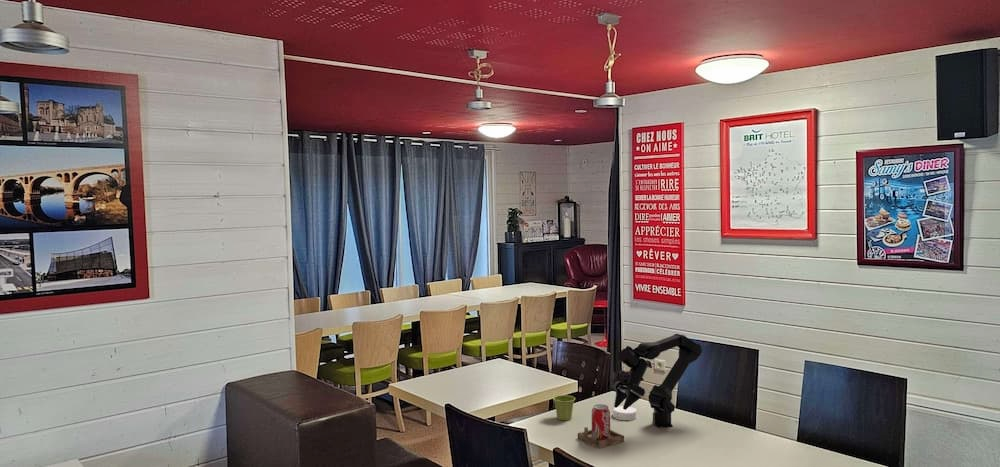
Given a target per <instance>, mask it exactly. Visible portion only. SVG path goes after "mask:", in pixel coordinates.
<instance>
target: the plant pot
mask: <svg viewBox="0 0 1000 467" xmlns="http://www.w3.org/2000/svg"><path fill="white" fill-rule="evenodd" d="M552 400H553V401H554V402H553V403H554V406H555V411H556V418H557V420H559V421H561V420H563V421H570V420H571V419H573V418H572V417H573V409H574V408H573V407H574V403H575V400H576V397H574V396H573V395H566V394H564V395H563V394H561V395H560V394H559V395H556V396H554V397H553V398H552Z"/></svg>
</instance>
